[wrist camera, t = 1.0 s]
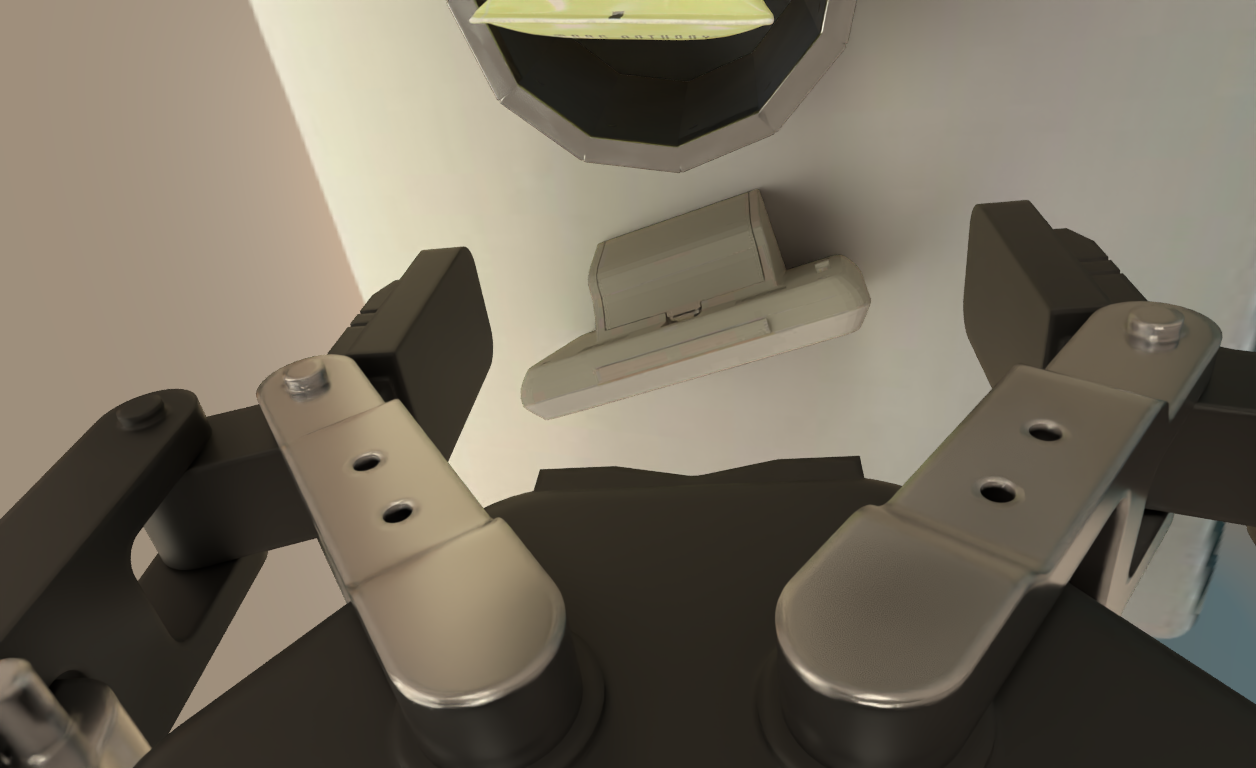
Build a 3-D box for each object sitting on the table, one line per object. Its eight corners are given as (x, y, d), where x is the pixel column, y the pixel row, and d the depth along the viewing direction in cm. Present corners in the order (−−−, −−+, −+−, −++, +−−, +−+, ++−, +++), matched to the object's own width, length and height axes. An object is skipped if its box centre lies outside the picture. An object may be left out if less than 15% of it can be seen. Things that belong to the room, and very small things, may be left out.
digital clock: (573, 365, 49) (539, 482, 40) (535, 219, 45) (487, 314, 36) (862, 333, 46) (895, 451, 37) (854, 172, 42) (889, 264, 33)
